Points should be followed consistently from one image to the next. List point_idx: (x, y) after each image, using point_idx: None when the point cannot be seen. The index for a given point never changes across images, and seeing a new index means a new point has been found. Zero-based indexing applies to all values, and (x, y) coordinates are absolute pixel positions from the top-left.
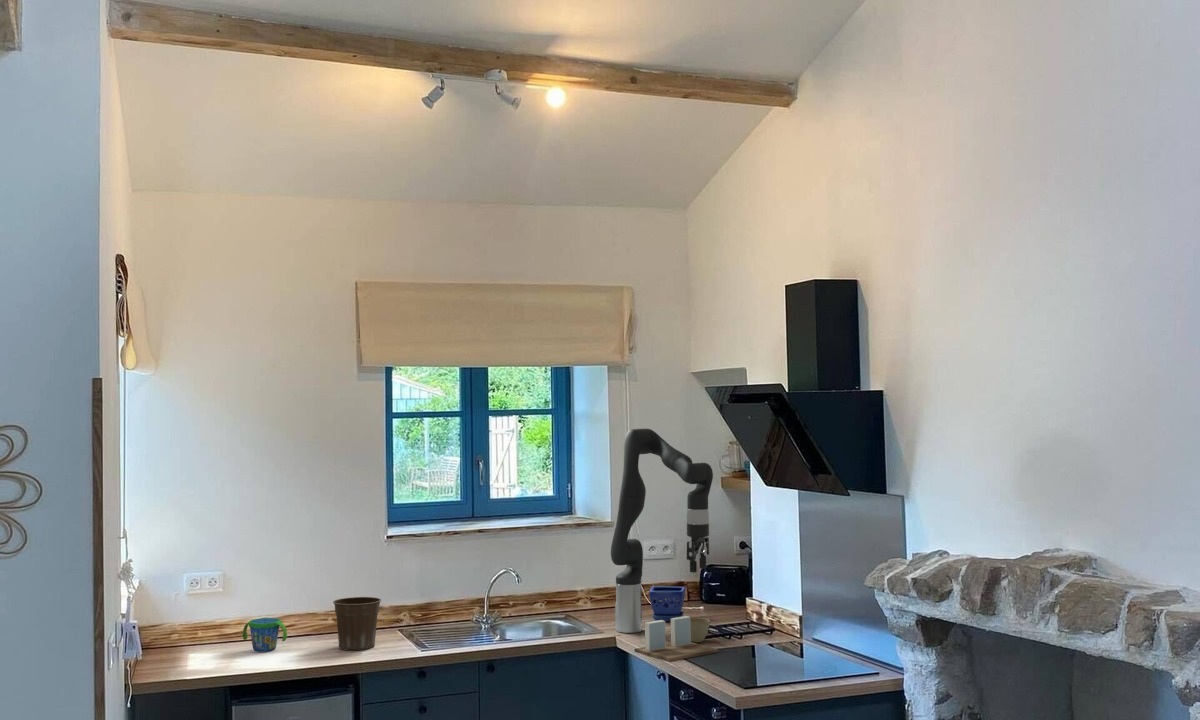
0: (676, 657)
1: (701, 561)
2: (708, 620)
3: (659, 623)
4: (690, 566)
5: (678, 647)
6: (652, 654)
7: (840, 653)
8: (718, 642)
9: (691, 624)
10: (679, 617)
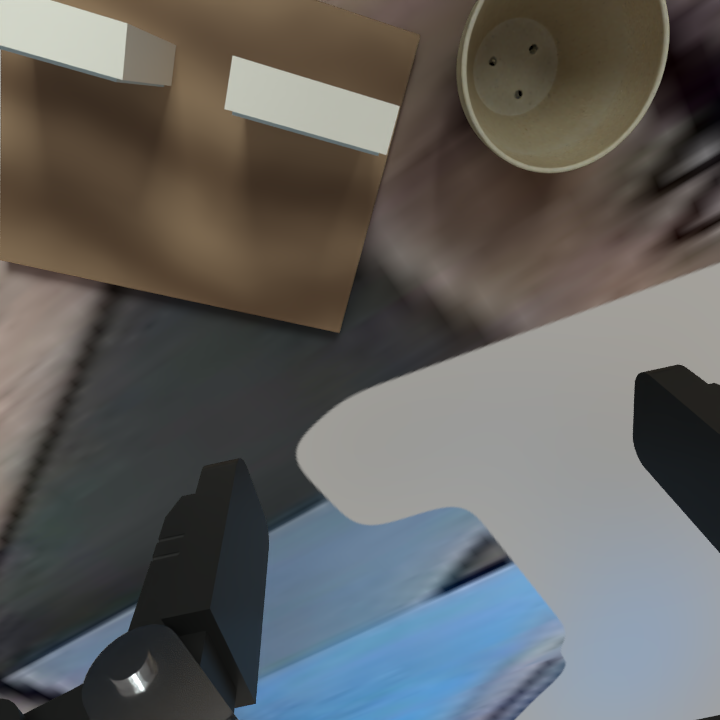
0: (56, 270)
1: (714, 469)
2: (624, 129)
3: (59, 64)
4: (154, 561)
5: (238, 141)
6: (3, 110)
7: (557, 638)
8: (534, 205)
9: (462, 96)
10: (315, 95)
